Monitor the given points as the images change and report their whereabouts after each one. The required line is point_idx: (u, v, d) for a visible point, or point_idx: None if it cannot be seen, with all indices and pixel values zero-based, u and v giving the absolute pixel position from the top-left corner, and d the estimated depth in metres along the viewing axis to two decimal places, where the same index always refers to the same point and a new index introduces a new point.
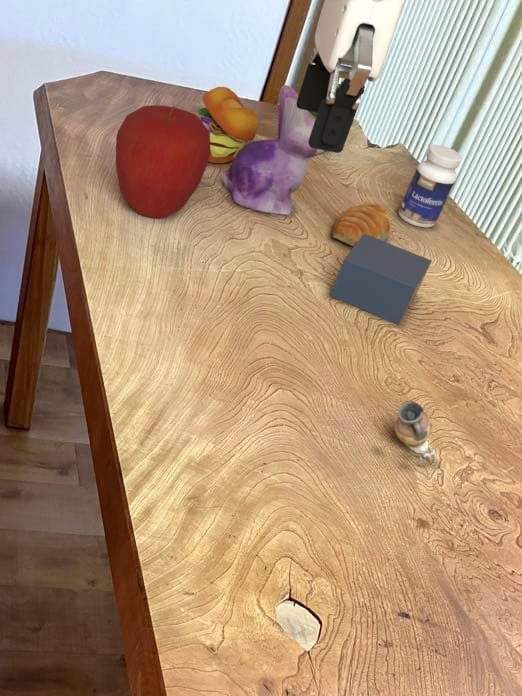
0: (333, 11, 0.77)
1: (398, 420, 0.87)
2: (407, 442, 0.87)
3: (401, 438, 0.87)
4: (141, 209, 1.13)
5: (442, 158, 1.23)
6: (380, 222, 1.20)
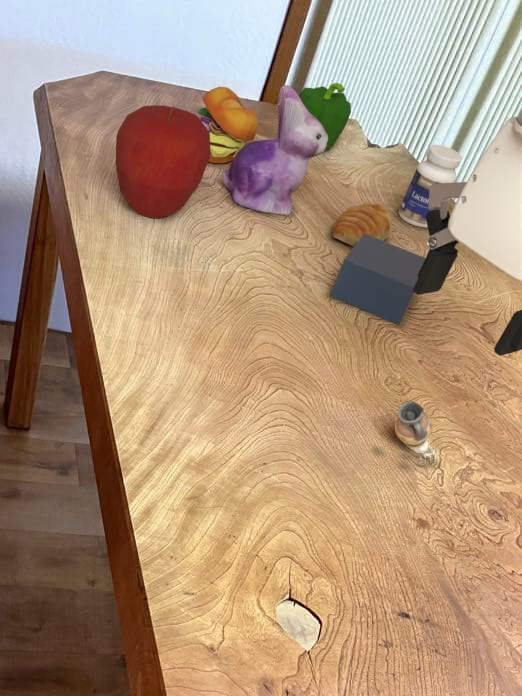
0: (521, 223, 0.69)
1: (398, 420, 0.87)
2: (407, 442, 0.87)
3: (401, 438, 0.87)
4: (141, 209, 1.13)
5: (442, 158, 1.23)
6: (380, 222, 1.20)
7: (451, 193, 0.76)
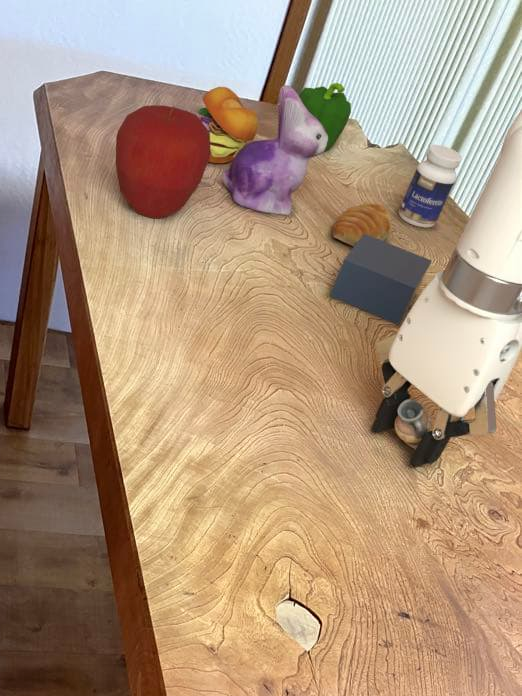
0: (448, 365, 0.79)
1: (398, 419, 0.87)
2: (408, 440, 0.87)
3: (402, 437, 0.87)
4: (141, 209, 1.13)
5: (442, 158, 1.23)
6: (380, 222, 1.20)
7: None
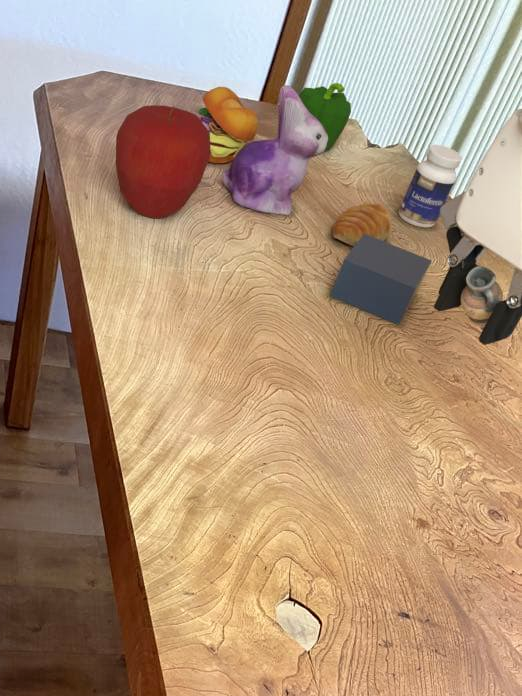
0: None
1: (465, 292, 0.78)
2: (476, 316, 0.78)
3: (469, 312, 0.78)
4: (141, 209, 1.13)
5: (442, 158, 1.23)
6: (380, 222, 1.20)
7: None
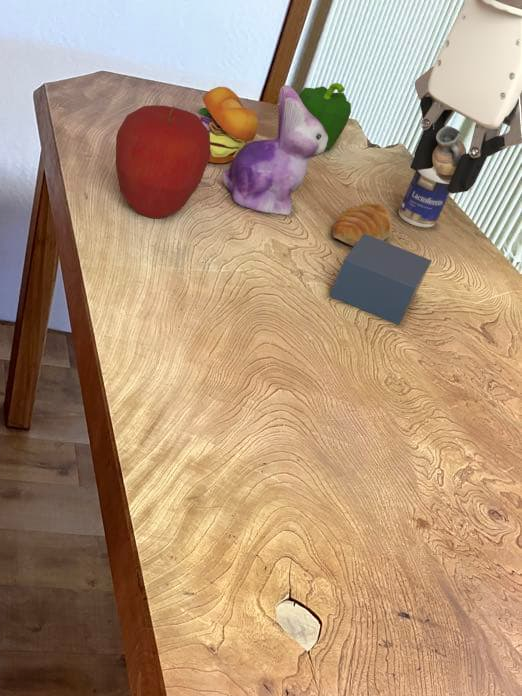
0: (485, 76, 0.86)
1: (435, 150, 0.94)
2: (445, 170, 0.95)
3: (439, 167, 0.95)
4: (141, 209, 1.13)
5: None
6: (380, 222, 1.20)
7: None
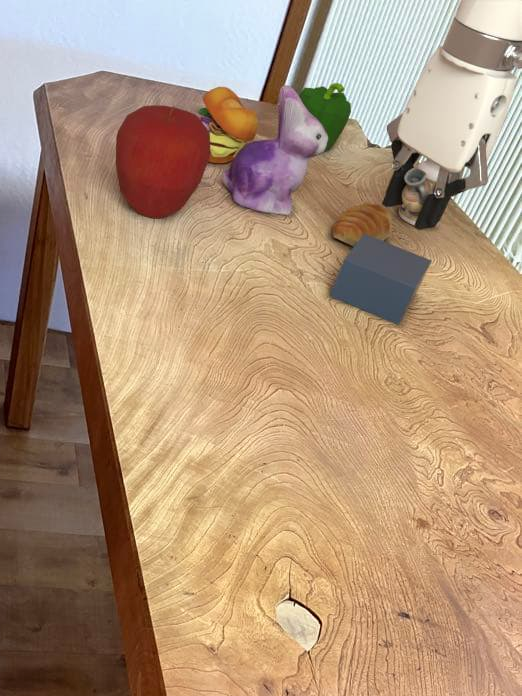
0: (448, 125, 0.94)
1: (404, 189, 1.02)
2: (413, 208, 1.02)
3: (408, 205, 1.02)
4: (141, 209, 1.13)
5: None
6: (380, 222, 1.20)
7: None
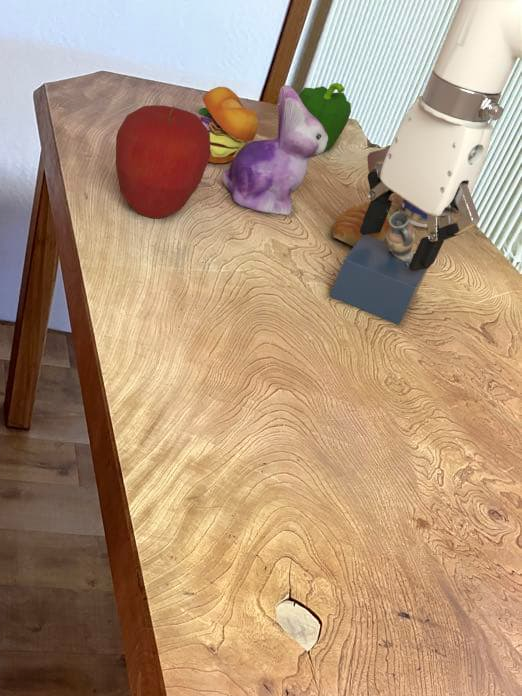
0: (427, 171, 0.98)
1: (389, 230, 1.06)
2: (396, 249, 1.06)
3: (391, 246, 1.06)
4: (141, 209, 1.13)
5: None
6: None
7: (382, 156, 1.04)
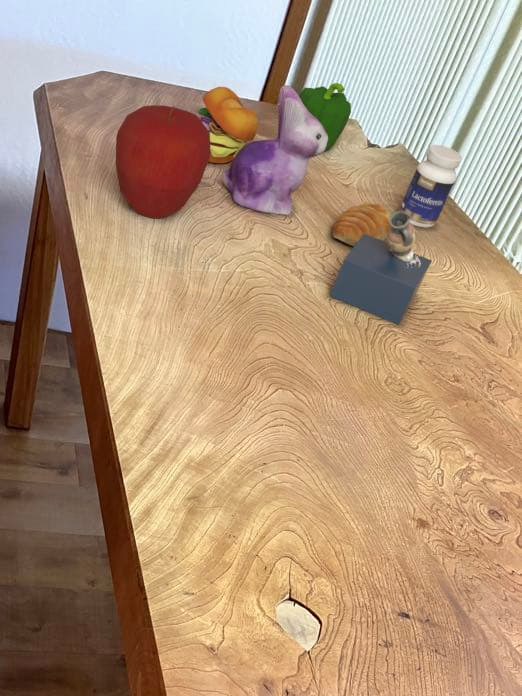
0: None
1: (389, 230, 1.06)
2: (396, 249, 1.06)
3: (392, 246, 1.06)
4: (141, 209, 1.13)
5: (442, 158, 1.23)
6: (380, 222, 1.20)
7: None
